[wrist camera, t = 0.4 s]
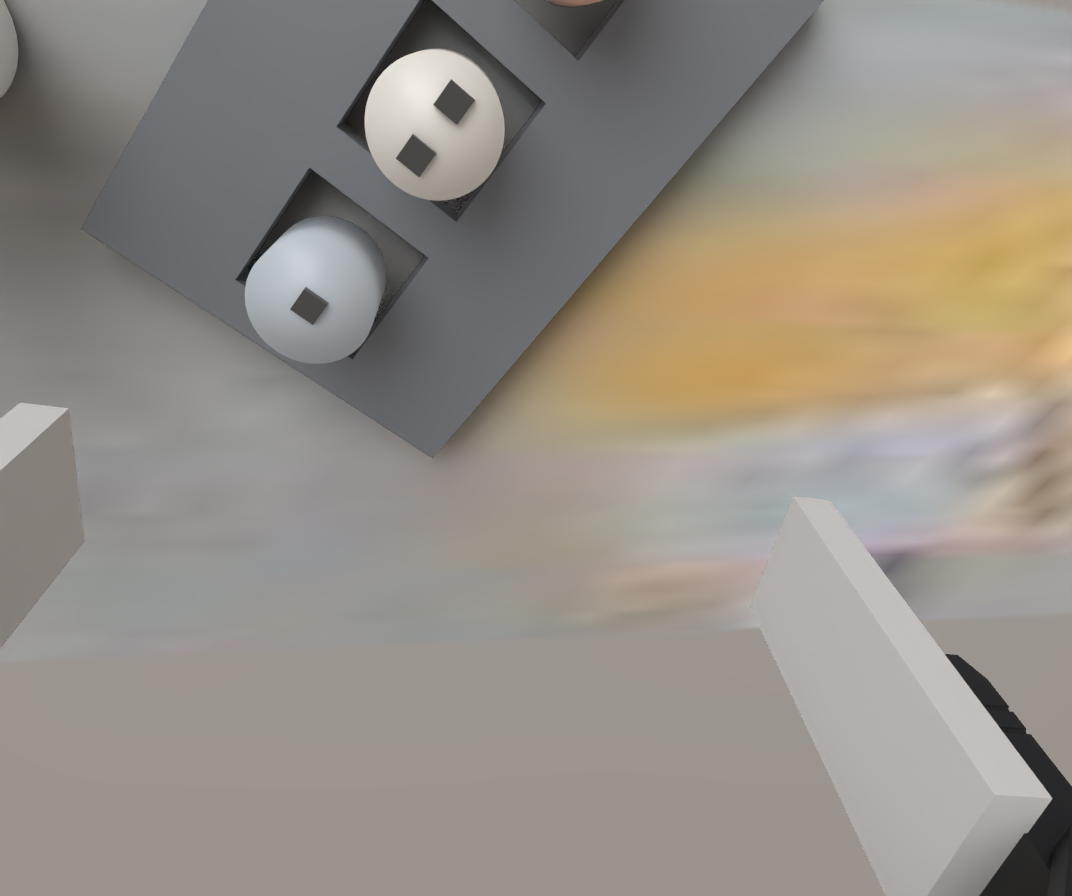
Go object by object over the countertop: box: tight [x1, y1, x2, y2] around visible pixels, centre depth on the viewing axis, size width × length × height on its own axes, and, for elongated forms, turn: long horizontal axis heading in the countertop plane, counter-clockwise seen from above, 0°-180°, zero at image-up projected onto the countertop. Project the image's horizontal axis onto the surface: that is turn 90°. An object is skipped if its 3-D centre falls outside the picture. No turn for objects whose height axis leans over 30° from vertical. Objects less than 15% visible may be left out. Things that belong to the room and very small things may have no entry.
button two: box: [365, 48, 505, 201], centre depth 28 cm, size 5×5×5 cm
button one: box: [245, 216, 386, 364], centre depth 31 cm, size 5×5×5 cm
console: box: [81, 0, 824, 458], centre depth 32 cm, size 18×26×2 cm
